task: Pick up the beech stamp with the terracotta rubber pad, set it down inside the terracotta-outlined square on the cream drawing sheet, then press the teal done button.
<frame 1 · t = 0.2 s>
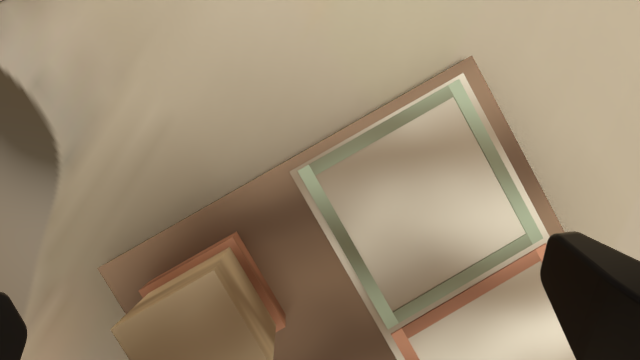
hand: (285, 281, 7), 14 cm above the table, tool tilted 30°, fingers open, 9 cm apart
terracotta stamp: (218, 298, 21), point 1 cm above the table, touching picture board
picture board: (391, 340, 22), on the table
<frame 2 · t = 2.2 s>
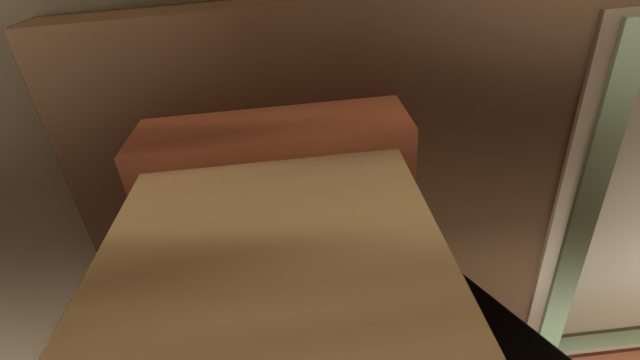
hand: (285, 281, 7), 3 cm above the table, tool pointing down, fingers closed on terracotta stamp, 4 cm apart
terracotta stamp: (283, 211, 9), point 1 cm above the table, touching gripper, picture board
picture board: (503, 347, 14), on the table
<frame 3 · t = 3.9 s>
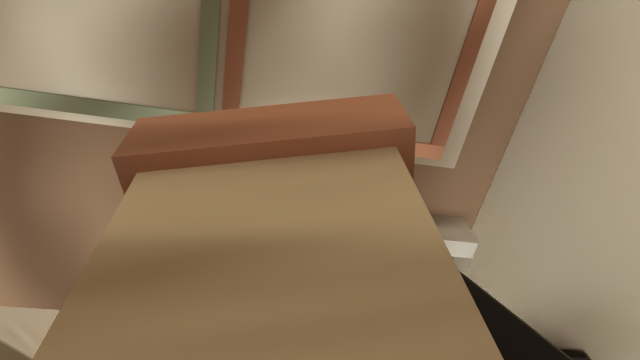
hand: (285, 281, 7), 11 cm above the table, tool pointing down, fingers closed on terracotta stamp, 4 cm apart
terracotta stamp: (282, 210, 9), point 9 cm above the table, touching gripper
picture board: (245, 125, 18), on the table
when the fingers open (5 cm above the table, at t = 5.6 s): terracotta stamp drops 1 cm, resting on picture board.
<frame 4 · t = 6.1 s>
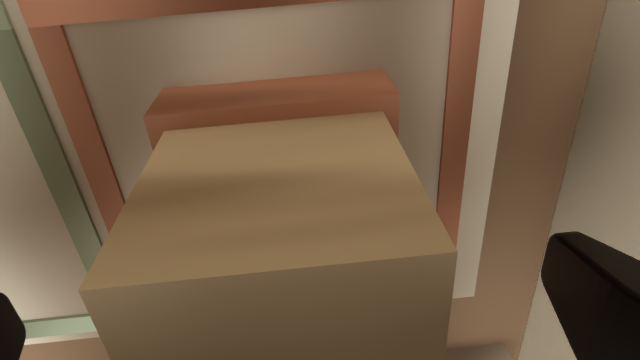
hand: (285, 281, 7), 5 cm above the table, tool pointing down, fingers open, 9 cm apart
terracotta stamp: (285, 174, 10), point 1 cm above the table, touching picture board
picture board: (184, 295, 14), on the table
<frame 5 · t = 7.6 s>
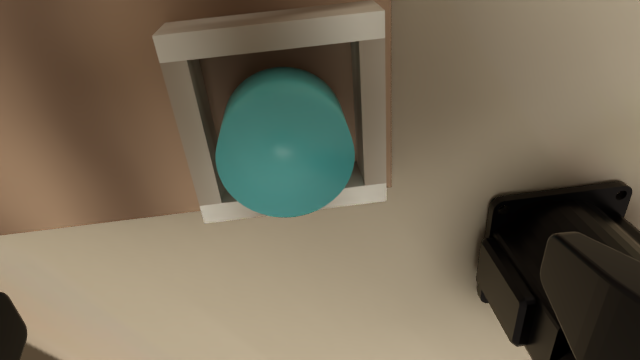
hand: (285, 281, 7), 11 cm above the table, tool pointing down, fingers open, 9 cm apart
done button: (285, 141, 14), point 4 cm above the table, slide at 0.0 cm
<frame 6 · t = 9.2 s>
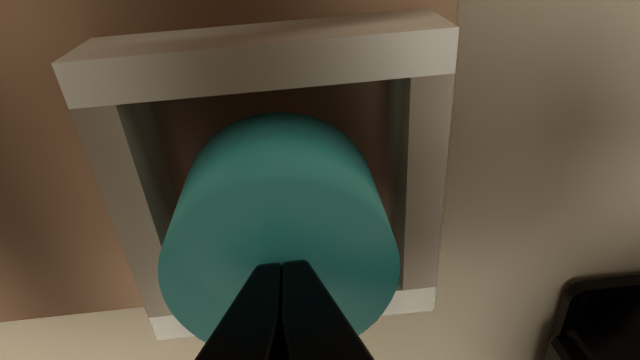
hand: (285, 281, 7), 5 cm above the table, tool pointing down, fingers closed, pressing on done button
done button: (281, 234, 8), point 4 cm above the table, slide at 0.2 cm, touching gripper
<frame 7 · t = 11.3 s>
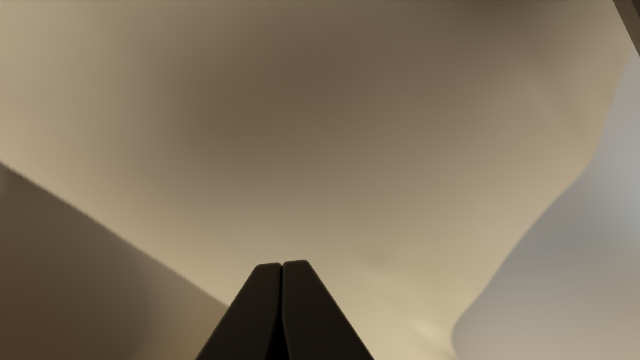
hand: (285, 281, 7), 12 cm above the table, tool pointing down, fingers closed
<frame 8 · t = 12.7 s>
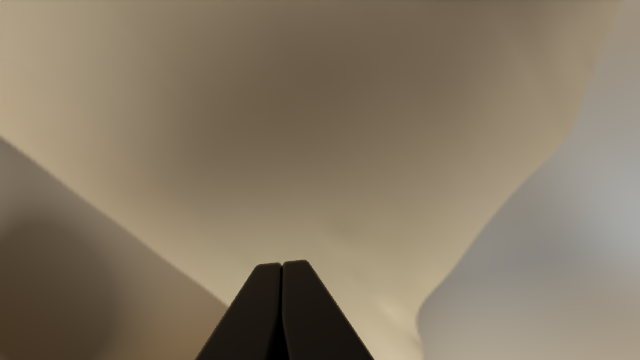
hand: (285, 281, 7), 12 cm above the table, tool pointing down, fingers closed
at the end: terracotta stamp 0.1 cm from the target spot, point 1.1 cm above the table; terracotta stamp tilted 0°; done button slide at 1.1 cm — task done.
